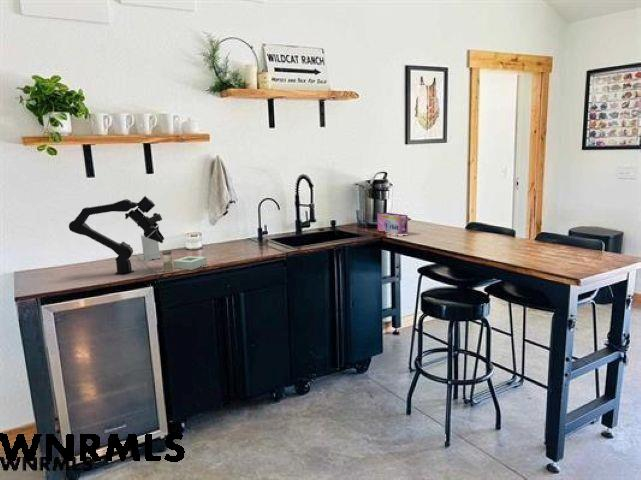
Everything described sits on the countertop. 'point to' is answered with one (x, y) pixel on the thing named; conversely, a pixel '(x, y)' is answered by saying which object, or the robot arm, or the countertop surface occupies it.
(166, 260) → the peg
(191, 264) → the socket block
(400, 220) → the gum box
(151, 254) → the skincare box
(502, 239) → the countertop surface
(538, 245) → the countertop surface
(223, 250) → the countertop surface
